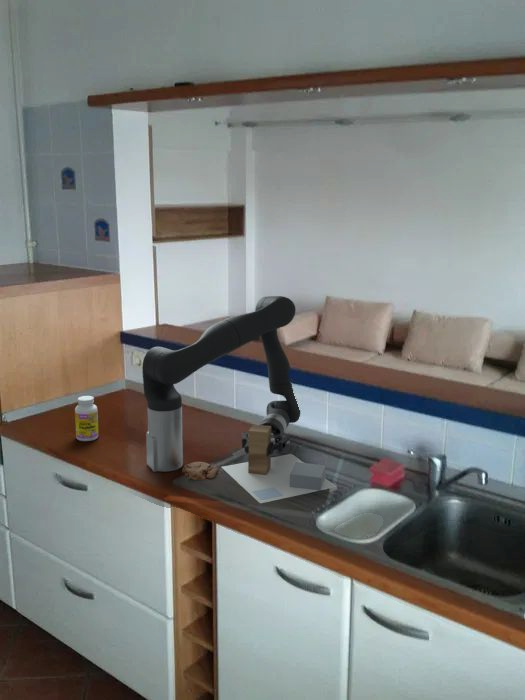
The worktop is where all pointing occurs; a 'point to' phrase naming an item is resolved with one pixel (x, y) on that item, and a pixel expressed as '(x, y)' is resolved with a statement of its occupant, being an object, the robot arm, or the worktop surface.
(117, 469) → the worktop surface
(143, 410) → the worktop surface
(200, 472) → the cookie
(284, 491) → the base board
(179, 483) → the worktop surface
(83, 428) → the supplement bottle
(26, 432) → the worktop surface
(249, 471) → the walnut pillar
